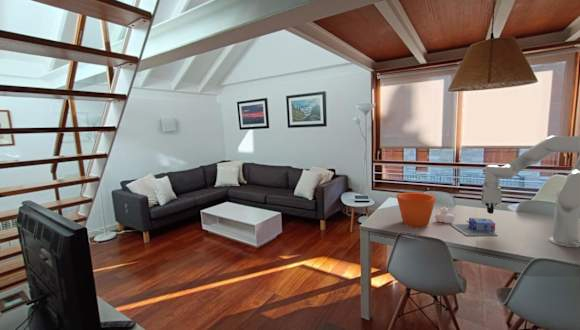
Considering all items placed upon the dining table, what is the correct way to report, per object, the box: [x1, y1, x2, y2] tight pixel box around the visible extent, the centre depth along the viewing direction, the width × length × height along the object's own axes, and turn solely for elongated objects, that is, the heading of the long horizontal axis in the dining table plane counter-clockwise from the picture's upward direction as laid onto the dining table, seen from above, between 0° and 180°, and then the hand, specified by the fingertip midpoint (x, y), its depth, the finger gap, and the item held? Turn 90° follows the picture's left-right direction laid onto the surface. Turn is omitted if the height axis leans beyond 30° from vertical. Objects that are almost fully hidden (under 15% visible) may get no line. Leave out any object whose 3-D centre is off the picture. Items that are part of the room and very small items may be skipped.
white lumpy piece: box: [434, 206, 455, 224], centre depth 195 cm, size 12×8×11 cm
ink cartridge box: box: [466, 217, 496, 232], centre depth 179 cm, size 10×6×14 cm
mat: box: [449, 223, 498, 237], centre depth 177 cm, size 20×18×1 cm
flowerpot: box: [396, 191, 437, 228], centre depth 192 cm, size 25×25×20 cm
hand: (490, 212), depth 175 cm, fingers closed
